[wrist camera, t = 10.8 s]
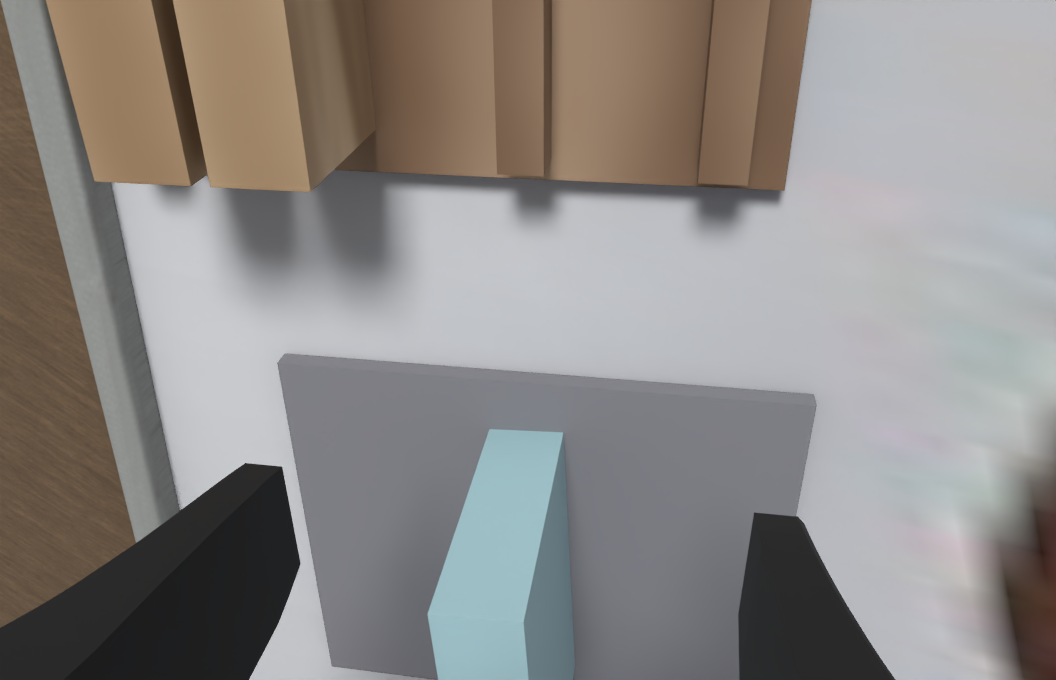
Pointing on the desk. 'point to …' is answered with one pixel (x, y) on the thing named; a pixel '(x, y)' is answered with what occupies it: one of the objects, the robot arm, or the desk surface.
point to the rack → (585, 89)
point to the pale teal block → (508, 568)
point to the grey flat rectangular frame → (65, 343)
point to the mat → (592, 503)
